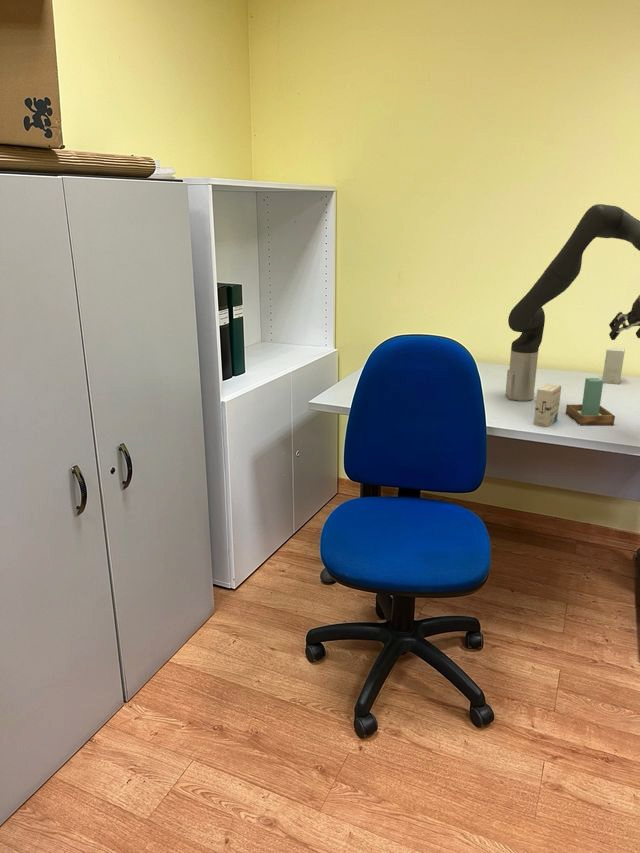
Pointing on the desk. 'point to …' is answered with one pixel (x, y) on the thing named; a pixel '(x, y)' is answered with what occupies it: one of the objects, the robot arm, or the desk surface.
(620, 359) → the small box
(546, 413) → the ink box
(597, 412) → the teal block
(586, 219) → the robot arm
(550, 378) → the desk surface
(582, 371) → the desk surface
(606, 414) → the tray
